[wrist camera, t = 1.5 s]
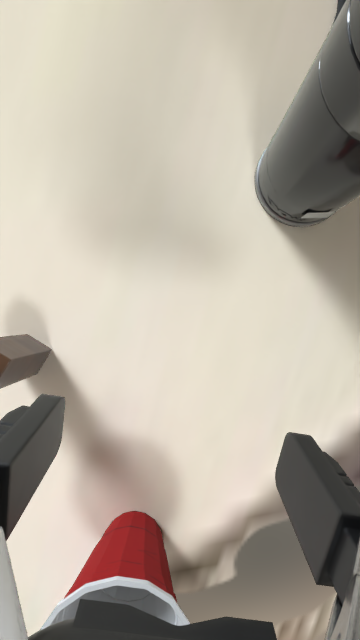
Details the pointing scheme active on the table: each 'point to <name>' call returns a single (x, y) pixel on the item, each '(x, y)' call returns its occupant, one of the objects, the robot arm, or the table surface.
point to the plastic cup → (126, 572)
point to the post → (20, 358)
